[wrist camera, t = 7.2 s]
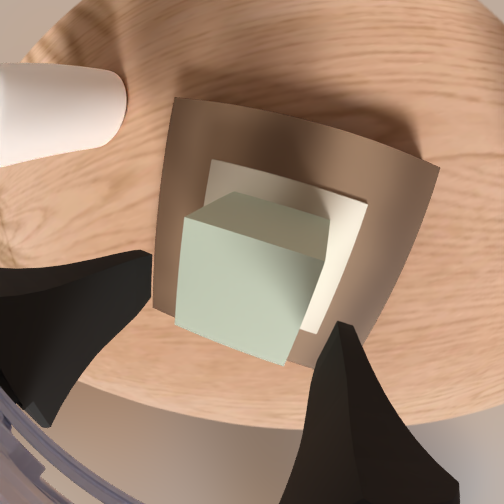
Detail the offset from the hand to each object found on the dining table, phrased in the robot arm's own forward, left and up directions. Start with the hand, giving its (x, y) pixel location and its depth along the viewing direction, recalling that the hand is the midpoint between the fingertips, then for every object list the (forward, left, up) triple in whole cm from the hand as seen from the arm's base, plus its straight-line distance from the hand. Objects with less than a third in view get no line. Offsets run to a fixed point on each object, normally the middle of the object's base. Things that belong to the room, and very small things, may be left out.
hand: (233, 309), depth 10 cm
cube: (0, 0, -5) cm, 5 cm away
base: (0, 0, -9) cm, 9 cm away
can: (+16, -6, -9) cm, 19 cm away
